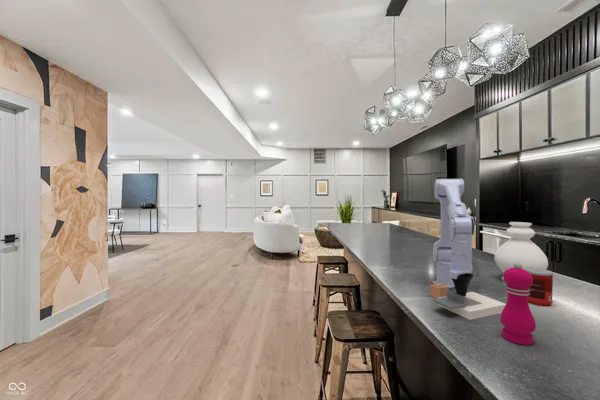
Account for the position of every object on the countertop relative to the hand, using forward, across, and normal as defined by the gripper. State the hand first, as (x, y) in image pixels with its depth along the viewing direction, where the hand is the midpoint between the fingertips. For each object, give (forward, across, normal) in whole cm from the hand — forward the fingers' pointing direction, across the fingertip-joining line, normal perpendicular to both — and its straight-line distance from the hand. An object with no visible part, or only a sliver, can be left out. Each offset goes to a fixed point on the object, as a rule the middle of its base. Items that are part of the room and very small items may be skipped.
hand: (461, 296), depth 89 cm
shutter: (+2, +5, -2) cm, 5 cm away
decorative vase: (+5, -50, +6) cm, 50 cm away
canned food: (+5, -26, +15) cm, 31 cm away
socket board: (+5, -4, +2) cm, 6 cm away
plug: (+5, -6, -9) cm, 12 cm away
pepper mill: (+5, +8, +16) cm, 19 cm away
